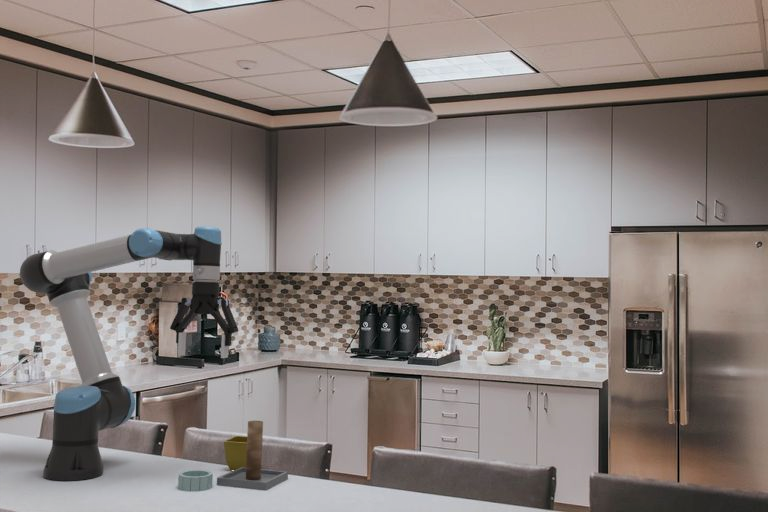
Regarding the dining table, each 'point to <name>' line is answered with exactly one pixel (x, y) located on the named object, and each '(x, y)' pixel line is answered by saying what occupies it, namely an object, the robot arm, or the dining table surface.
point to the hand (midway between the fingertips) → (202, 356)
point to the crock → (195, 480)
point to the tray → (239, 480)
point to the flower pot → (236, 452)
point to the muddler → (254, 450)
